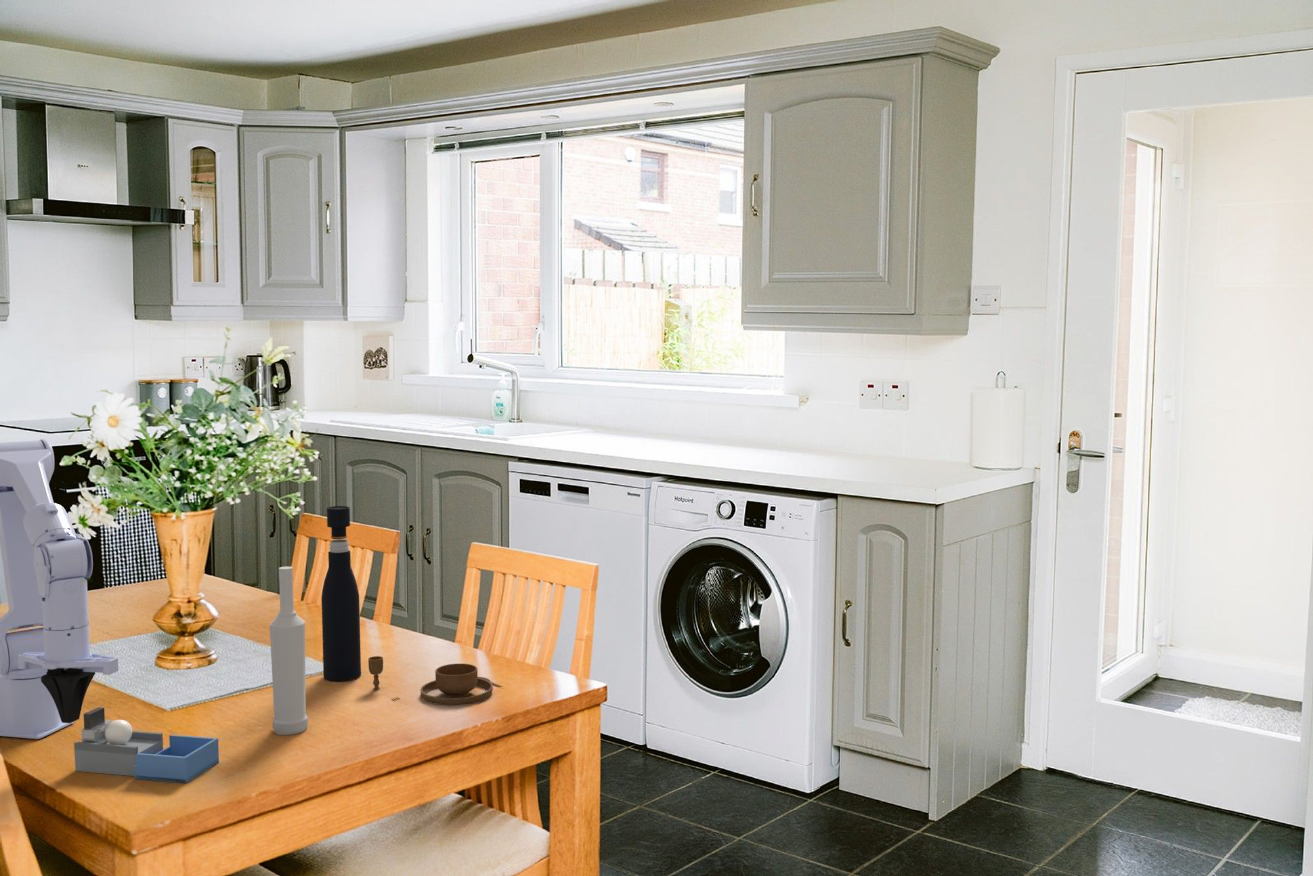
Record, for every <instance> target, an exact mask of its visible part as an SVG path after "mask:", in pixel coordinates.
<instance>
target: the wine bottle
mask: <svg viewBox="0 0 1313 876" xmlns="http://www.w3.org/2000/svg"><path fill="white" fill-rule="evenodd" d="M350 511H351V509H350V506H348V505H334V506H333V505H332V506H329V507H326V527H327V528H331V532H330V533H331V536H330V537H331V539H333V540H329V551H328V552H327V554H328V555H327V556H328V567H327V571H326V575H325V577H324V581H323V585H322V592H321V597H320V598H321V627H322V628H321V629H322V635H321V636H322V666H323V667H322V668H323V670H322V673H323V680H325V681H327V682H334V683H341V682H342V683H343V682H350V681H353V680H358V679H360V677H361V676H362V660H361V659H362V657H361V655H362V653H361V617H360V616H361V614H360V613H361V612H360V593H359V587H358V583H357V580H356V577H355V574H354V572H353V569H352V567H351V566H352V565H351V563H352V560H351V557H352V556H351V550H349V549H350V547H349V545H350V543H349V540H348V539H347V537H348V535H347V527H348V528H349V527H350V526H351V512H350Z"/></svg>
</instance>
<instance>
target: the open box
mask: <svg viewBox="0 0 1313 876" xmlns="http://www.w3.org/2000/svg"><path fill="white" fill-rule="evenodd" d="M168 737H169V745H168V746H167V747H165V748H163V750H161V751H159V752H158V753H156V754H144V753H137V754H136V765H135V766H134V776H133V777H134V779H135V780H143V781H144V780H145V781H153V782H166V783H167V782H168V783H176V784H177V783H178V784H187V783H189V782H191V781H192V780H194V779H195V778H197V777H199V776H200V775H202V774H203V773H205V772H206V771H208V770H210V769H212V768H213V767H214V766H215V765H217V764H219V763H220V756H219V755H220V752H219V749H220V748H219V738H218V737H217V738H216V737H206V736H196V735H195V736H192V735H182V734H181V735H179V734H170V735H168Z"/></svg>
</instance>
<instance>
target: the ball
mask: <svg viewBox="0 0 1313 876" xmlns="http://www.w3.org/2000/svg"><path fill="white" fill-rule="evenodd" d="M112 721H113V722H111V723H110V724H109V725H108V726H107V727H106V730H105V738H106V740H107V741H108V742H109V743H110V744H114V745H123V744H125V743H126V742H128V741H129V739H130V738H131V736H132V731H133V727H132V725H131V724H130V723H129V721H127V720H124V719H116V720H112Z"/></svg>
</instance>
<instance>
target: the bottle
mask: <svg viewBox="0 0 1313 876" xmlns="http://www.w3.org/2000/svg"><path fill="white" fill-rule="evenodd" d="M278 581H279V612H277V616H276V617H275V618H274V619H273V620H272V621H271V622H270V623H269V638H270V657H271V658H270V659H271V677H272V695H273V698H272V699H273V700H272V701H273V713H274V714H273V718H272V728H273V732H274V733H275V734H277V735H281V736H285V735H286V736H289V735H296V734H300V733H302V732H303V733H304V731H306V730H307V728H308V724H309V723H308V721H309V720H308V719H309V717H308V715H307V713H306V708H307V707H306V706H307V705H306V620H304V619H303V618H302V617H300V616H299V615H298V614H297V611H296V610H295V607H294V567H293V566H287V565H286V566H281V567H278Z"/></svg>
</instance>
